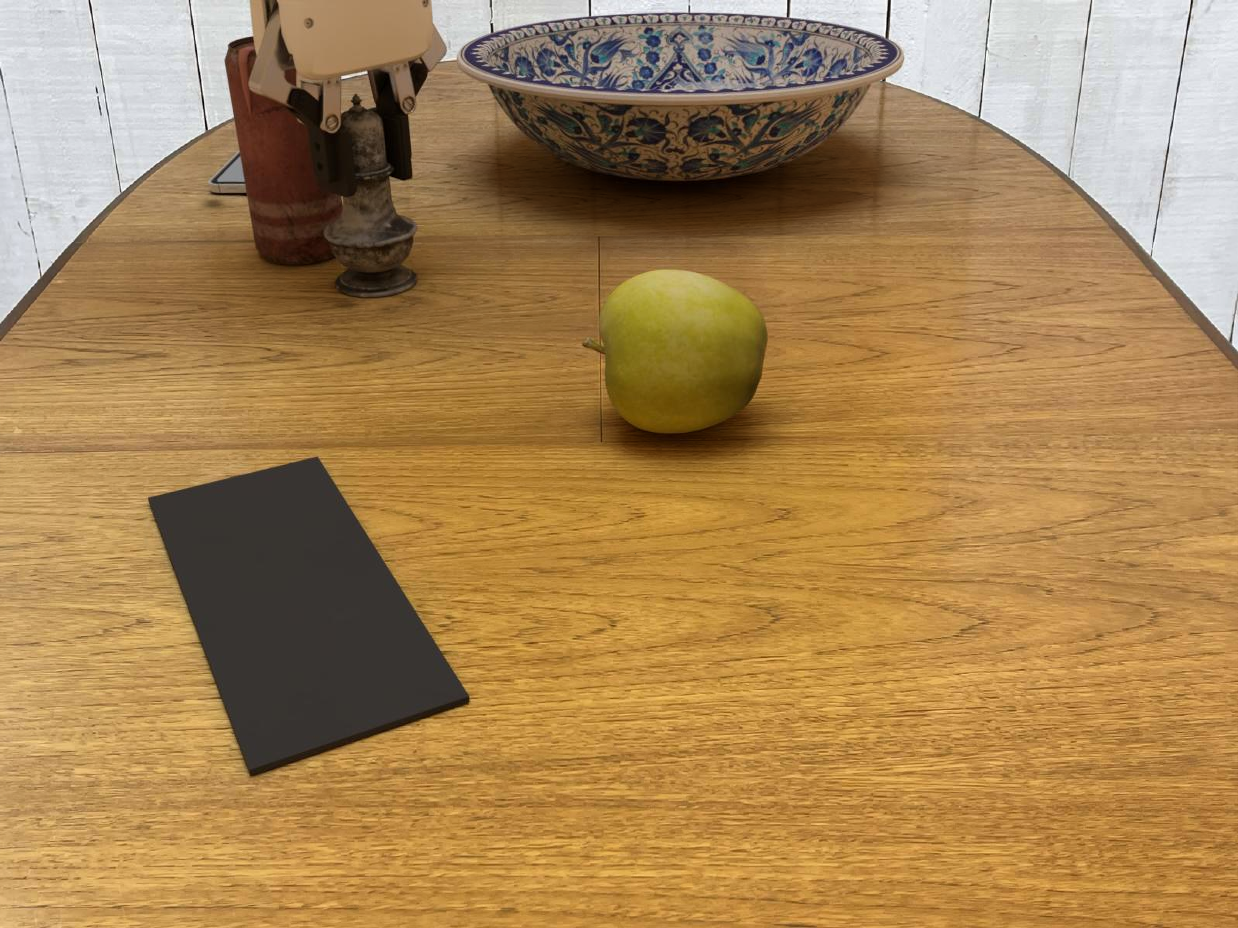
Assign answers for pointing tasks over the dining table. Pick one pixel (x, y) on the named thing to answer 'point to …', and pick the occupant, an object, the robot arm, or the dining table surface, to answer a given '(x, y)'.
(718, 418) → the apple
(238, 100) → the can
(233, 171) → the smartphone
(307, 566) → the black mat
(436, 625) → the dining table surface
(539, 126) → the ceramic bowl
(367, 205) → the salt shaker
